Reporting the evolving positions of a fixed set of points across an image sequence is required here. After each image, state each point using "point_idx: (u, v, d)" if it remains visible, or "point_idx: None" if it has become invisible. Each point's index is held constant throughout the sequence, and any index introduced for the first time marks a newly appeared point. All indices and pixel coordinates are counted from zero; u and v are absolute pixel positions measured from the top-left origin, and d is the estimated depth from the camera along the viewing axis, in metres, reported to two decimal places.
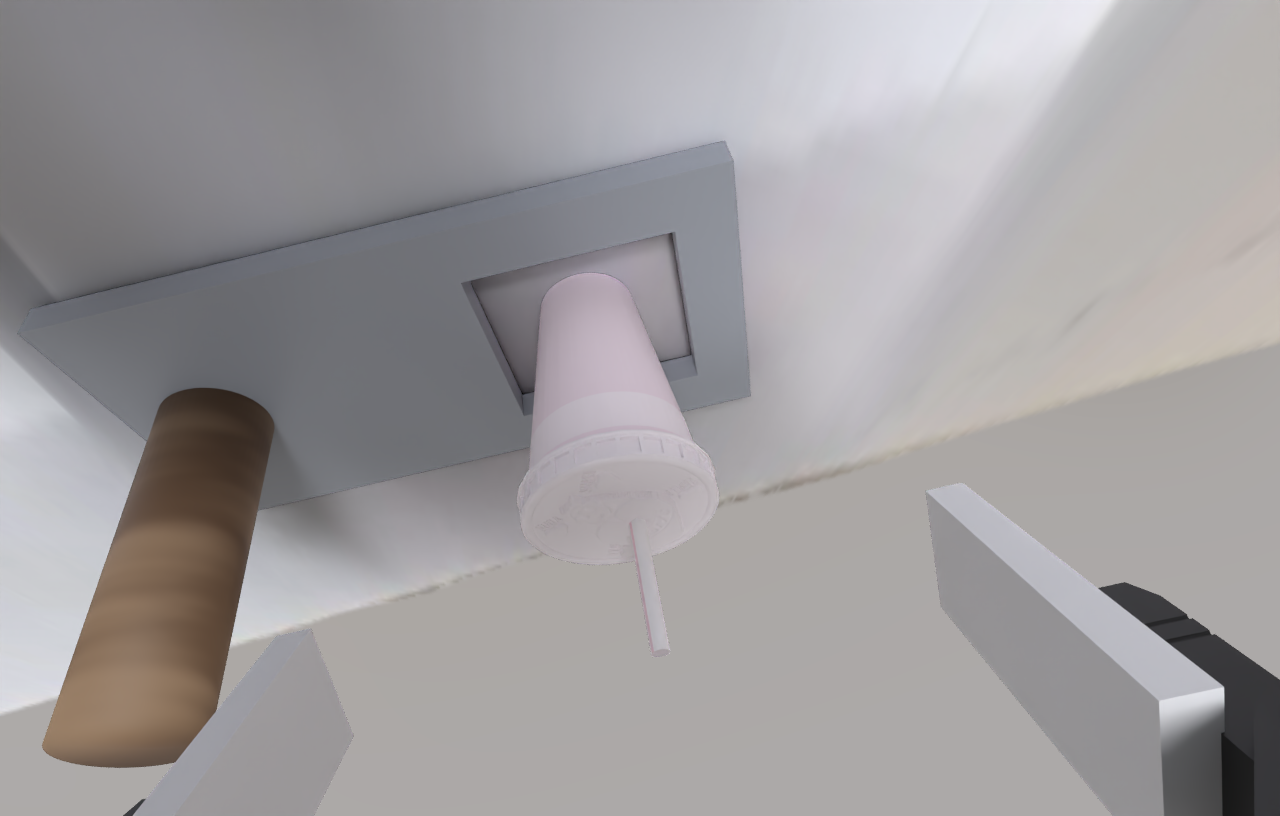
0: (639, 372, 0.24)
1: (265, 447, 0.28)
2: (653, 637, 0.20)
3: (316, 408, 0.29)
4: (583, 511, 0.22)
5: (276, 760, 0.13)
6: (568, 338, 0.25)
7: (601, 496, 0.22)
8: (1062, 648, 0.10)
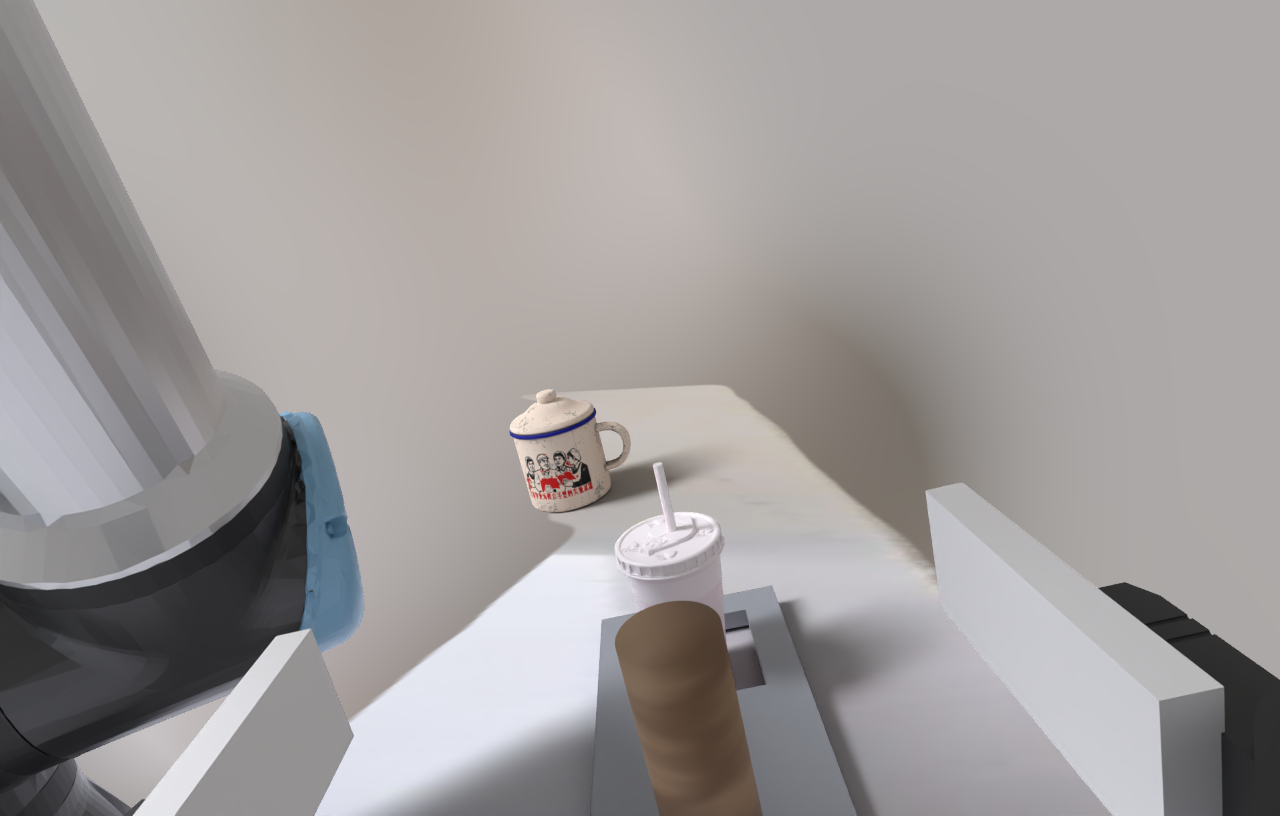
0: None
1: None
2: None
3: None
4: (649, 546, 0.41)
5: (276, 760, 0.13)
6: None
7: (643, 544, 0.42)
8: (1062, 648, 0.10)
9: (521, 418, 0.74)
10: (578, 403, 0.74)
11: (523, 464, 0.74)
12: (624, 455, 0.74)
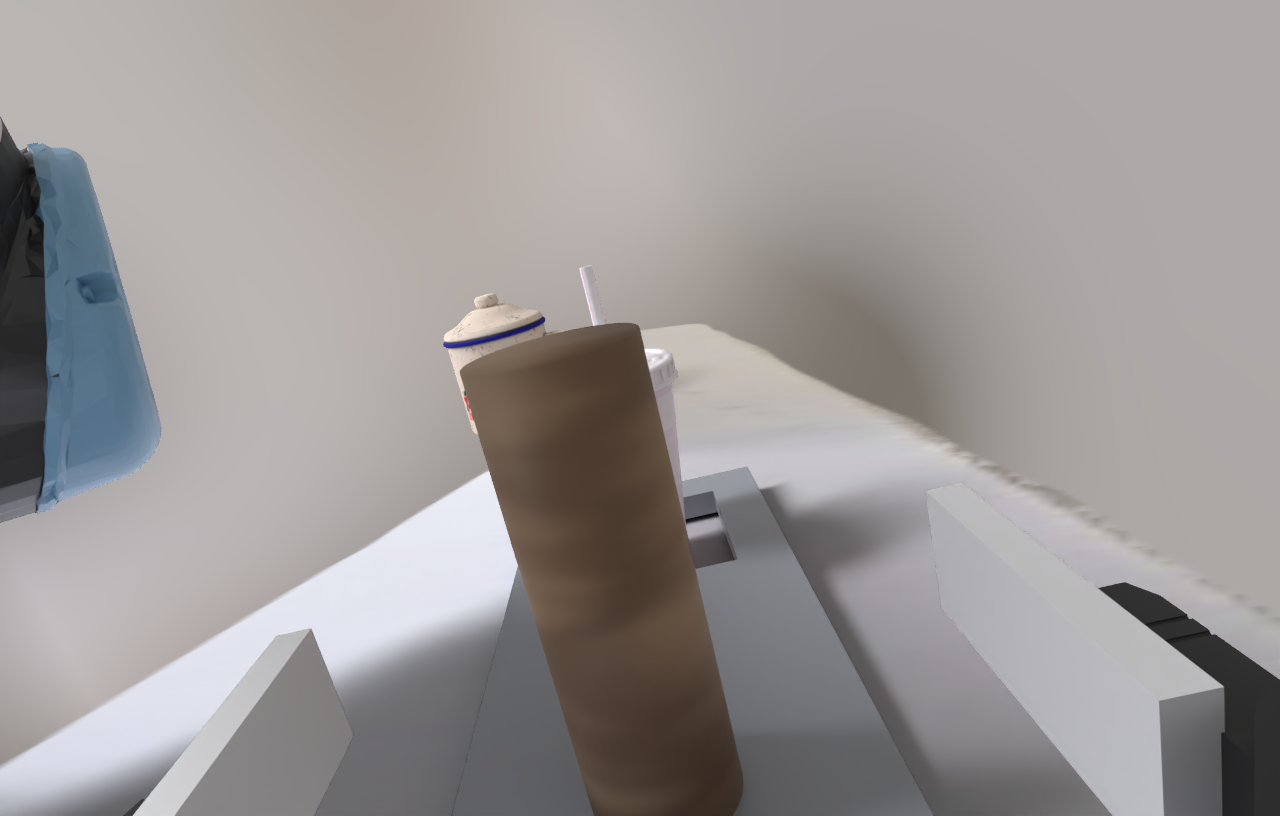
0: None
1: None
2: None
3: None
4: None
5: (276, 760, 0.13)
6: None
7: None
8: (1063, 648, 0.10)
9: None
10: (523, 309, 0.64)
11: (459, 380, 0.63)
12: None
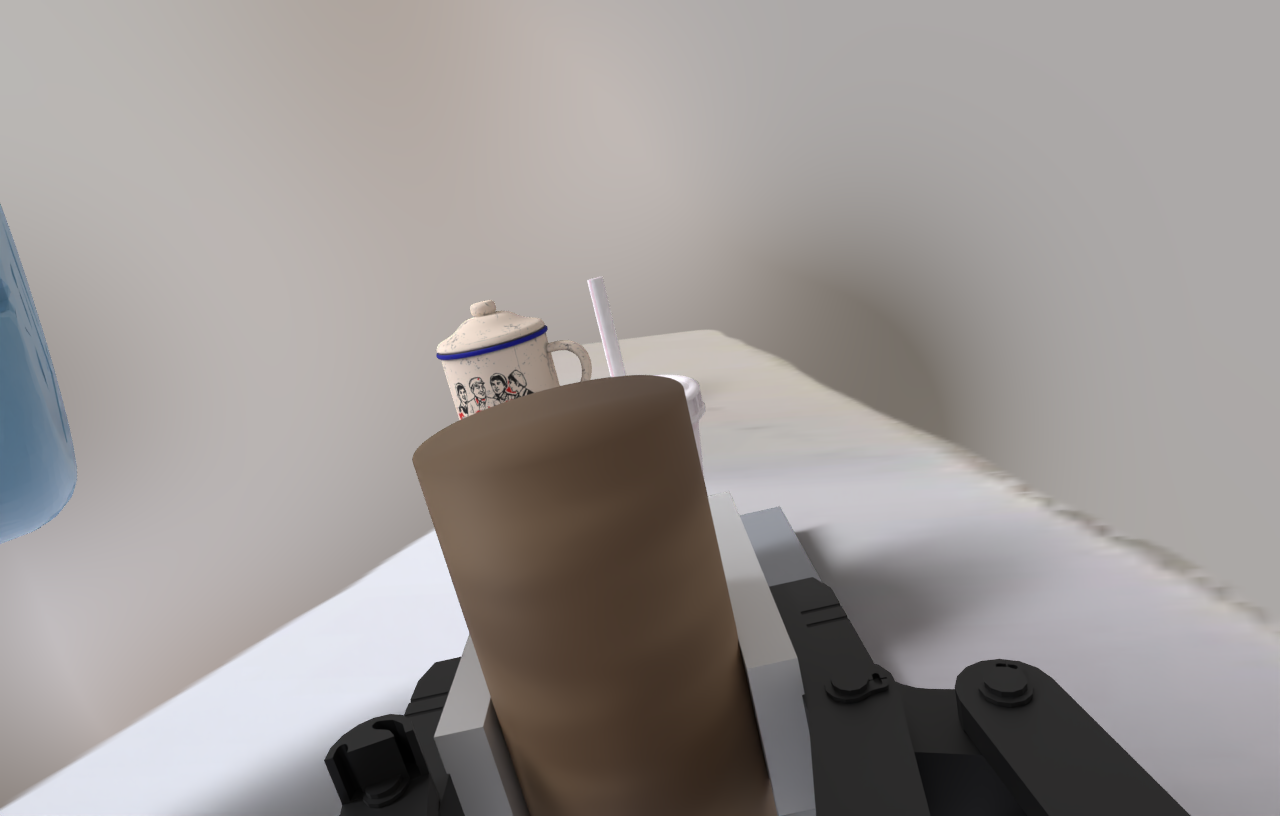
0: None
1: None
2: (590, 291, 0.25)
3: None
4: None
5: None
6: None
7: None
8: None
9: (451, 336, 0.58)
10: (524, 317, 0.58)
11: (454, 395, 0.57)
12: None
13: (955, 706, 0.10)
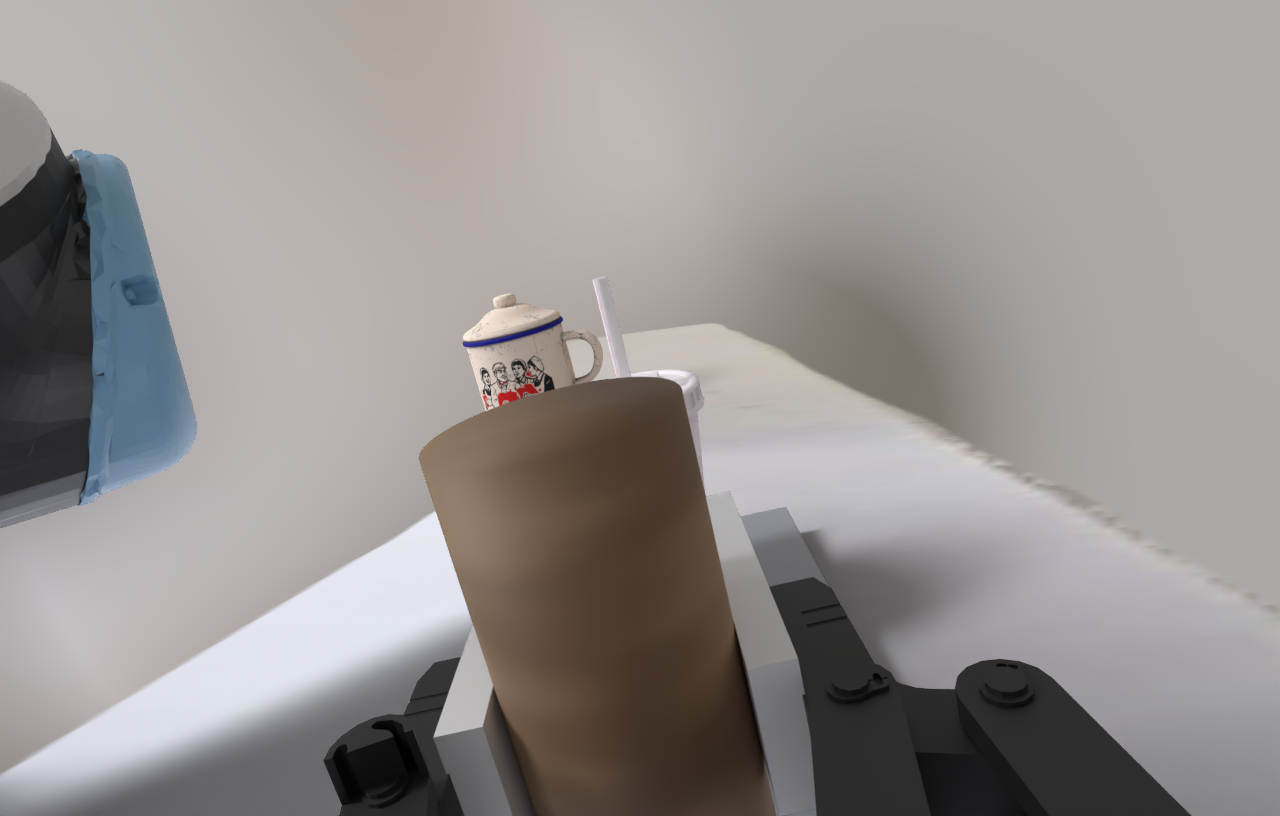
0: None
1: None
2: (595, 290, 0.27)
3: None
4: None
5: None
6: None
7: None
8: None
9: (476, 326, 0.64)
10: (541, 309, 0.64)
11: (478, 379, 0.64)
12: (595, 368, 0.64)
13: (956, 706, 0.10)
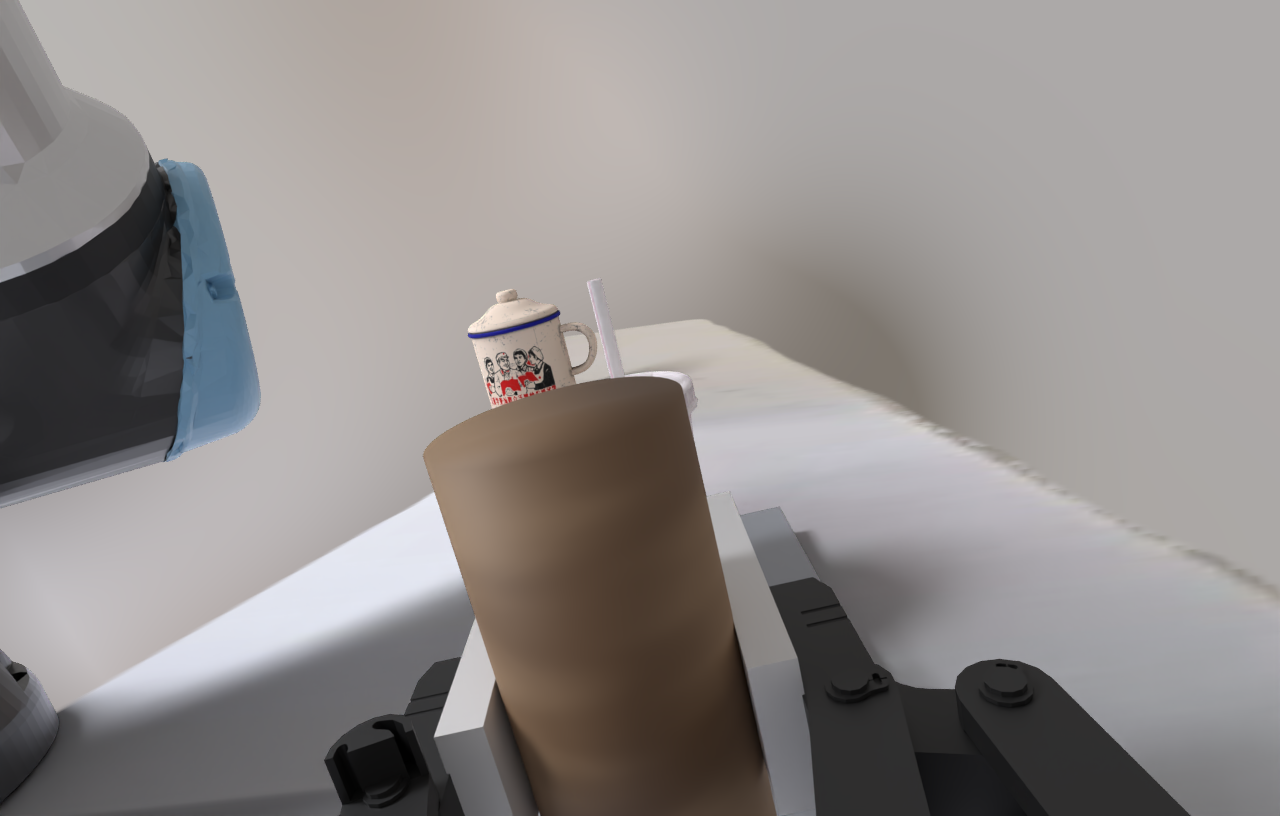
0: None
1: None
2: (589, 291, 0.27)
3: None
4: None
5: None
6: None
7: None
8: None
9: (480, 319, 0.69)
10: (540, 303, 0.70)
11: (482, 368, 0.69)
12: (590, 358, 0.70)
13: (955, 706, 0.10)
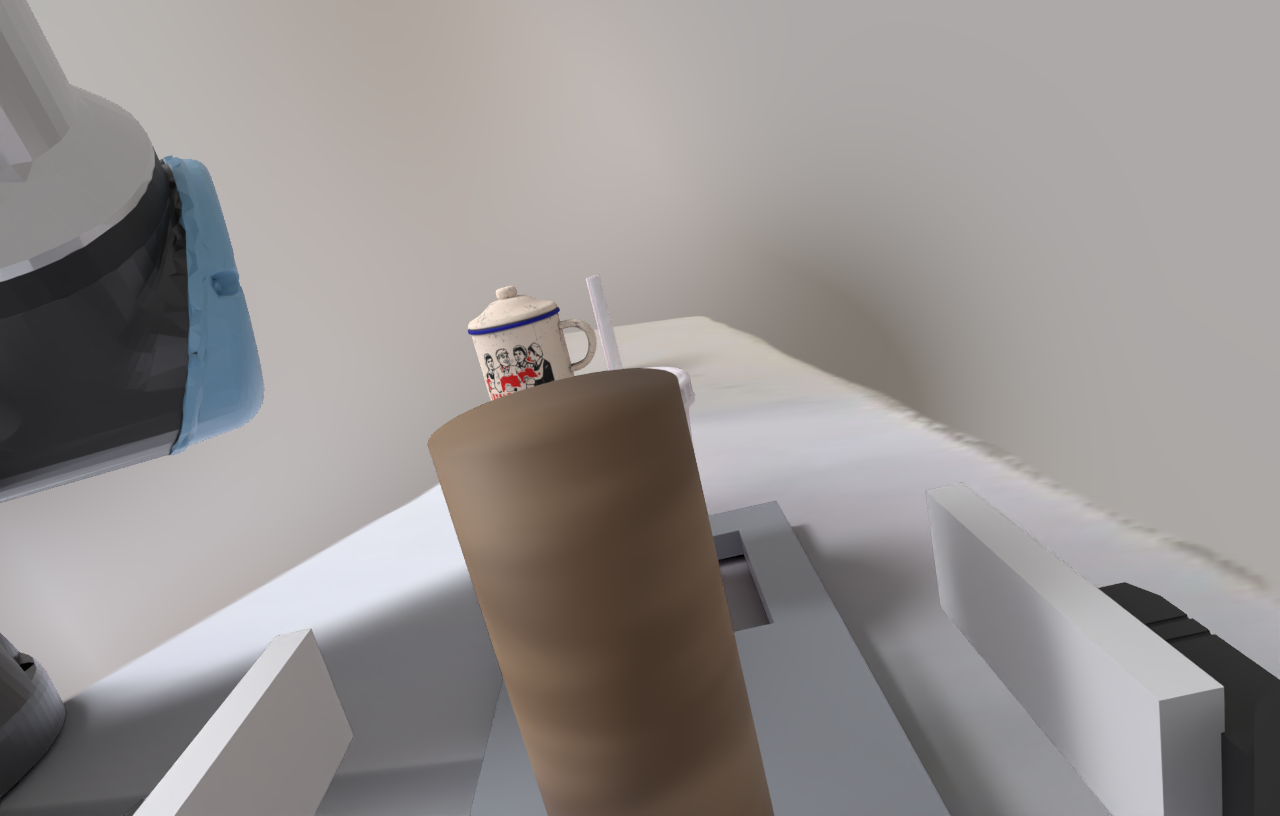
0: None
1: None
2: (588, 288, 0.27)
3: None
4: None
5: (276, 760, 0.13)
6: None
7: None
8: (1062, 648, 0.10)
9: (480, 315, 0.70)
10: (540, 300, 0.70)
11: (482, 364, 0.69)
12: (589, 354, 0.70)
13: None
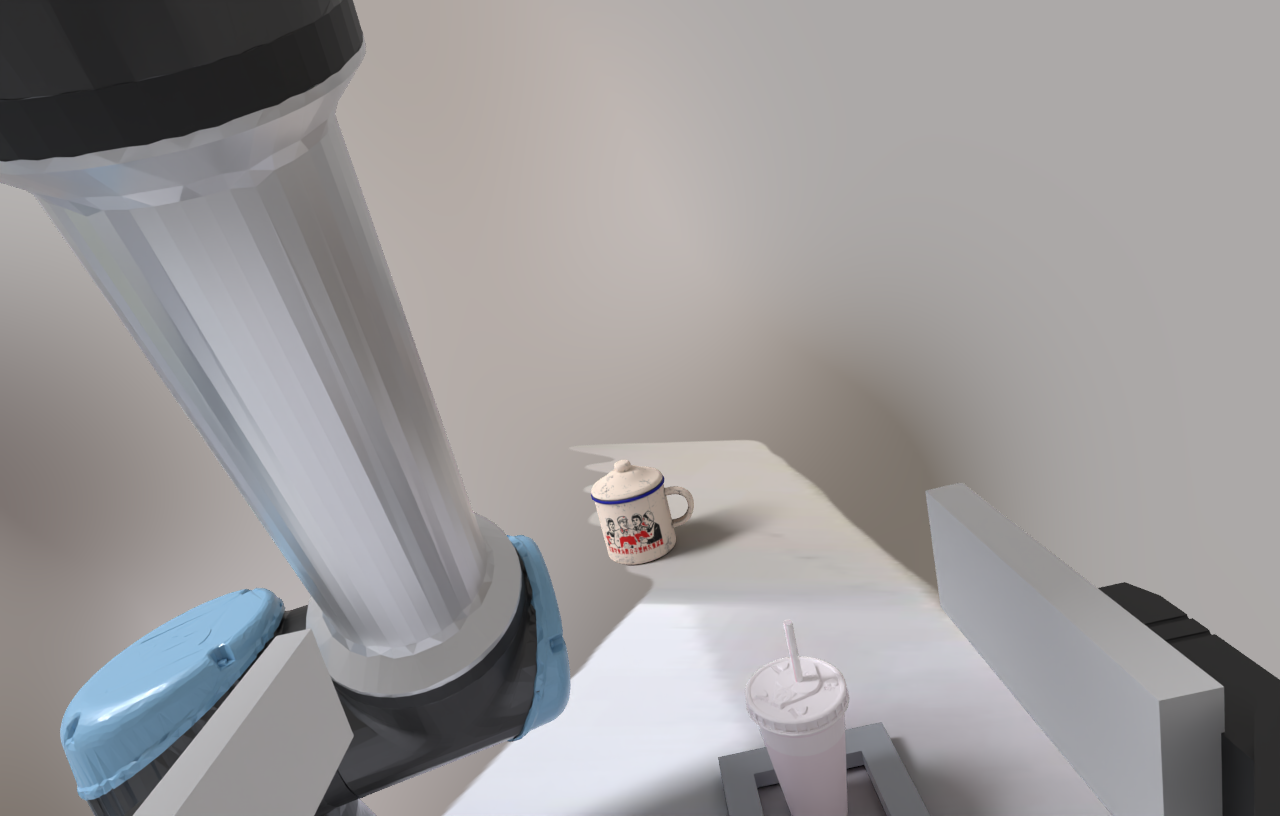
0: None
1: None
2: (784, 629, 0.45)
3: None
4: (780, 698, 0.44)
5: (276, 760, 0.13)
6: (777, 777, 0.47)
7: (773, 694, 0.45)
8: (1062, 648, 0.10)
9: (601, 485, 0.87)
10: (649, 471, 0.88)
11: (604, 524, 0.87)
12: (689, 515, 0.88)
13: None
